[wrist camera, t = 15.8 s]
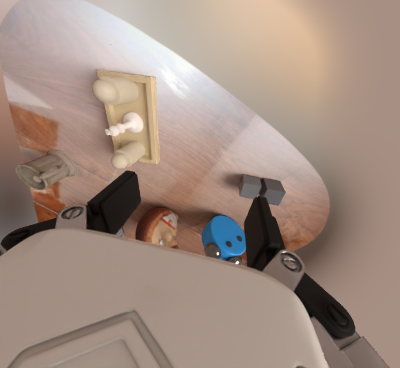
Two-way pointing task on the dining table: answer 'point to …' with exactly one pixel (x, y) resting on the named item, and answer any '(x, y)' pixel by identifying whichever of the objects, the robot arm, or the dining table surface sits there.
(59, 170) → the mug
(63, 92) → the dining table surface
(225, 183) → the dining table surface
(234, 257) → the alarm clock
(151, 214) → the figurine
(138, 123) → the chess piece
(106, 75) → the pawn tray
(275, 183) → the slate blocks
